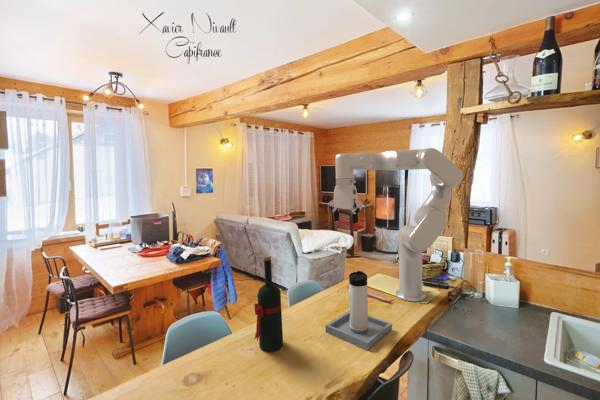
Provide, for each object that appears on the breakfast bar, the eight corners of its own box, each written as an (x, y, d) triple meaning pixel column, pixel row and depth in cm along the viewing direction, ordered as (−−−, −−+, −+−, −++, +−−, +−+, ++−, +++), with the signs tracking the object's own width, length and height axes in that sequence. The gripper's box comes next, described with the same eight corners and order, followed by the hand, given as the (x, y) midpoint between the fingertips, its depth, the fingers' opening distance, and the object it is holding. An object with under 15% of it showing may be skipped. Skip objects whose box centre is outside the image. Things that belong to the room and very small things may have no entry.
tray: (351, 315, 117) (351, 309, 117) (392, 330, 106) (391, 323, 105) (325, 332, 106) (325, 325, 106) (367, 350, 94) (367, 343, 94)
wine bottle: (248, 348, 97) (244, 258, 95) (272, 336, 105) (268, 251, 102) (264, 358, 92) (259, 263, 89) (288, 344, 99) (284, 255, 96)
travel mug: (369, 326, 107) (369, 271, 106) (365, 335, 101) (365, 277, 100) (352, 322, 110) (351, 269, 108) (347, 331, 104) (346, 275, 102)
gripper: (367, 182, 125) (367, 222, 127) (334, 182, 137) (334, 219, 139) (357, 183, 120) (357, 225, 121) (323, 183, 132) (324, 221, 133)
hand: (345, 222), depth 130 cm, fingers open, 9 cm apart
